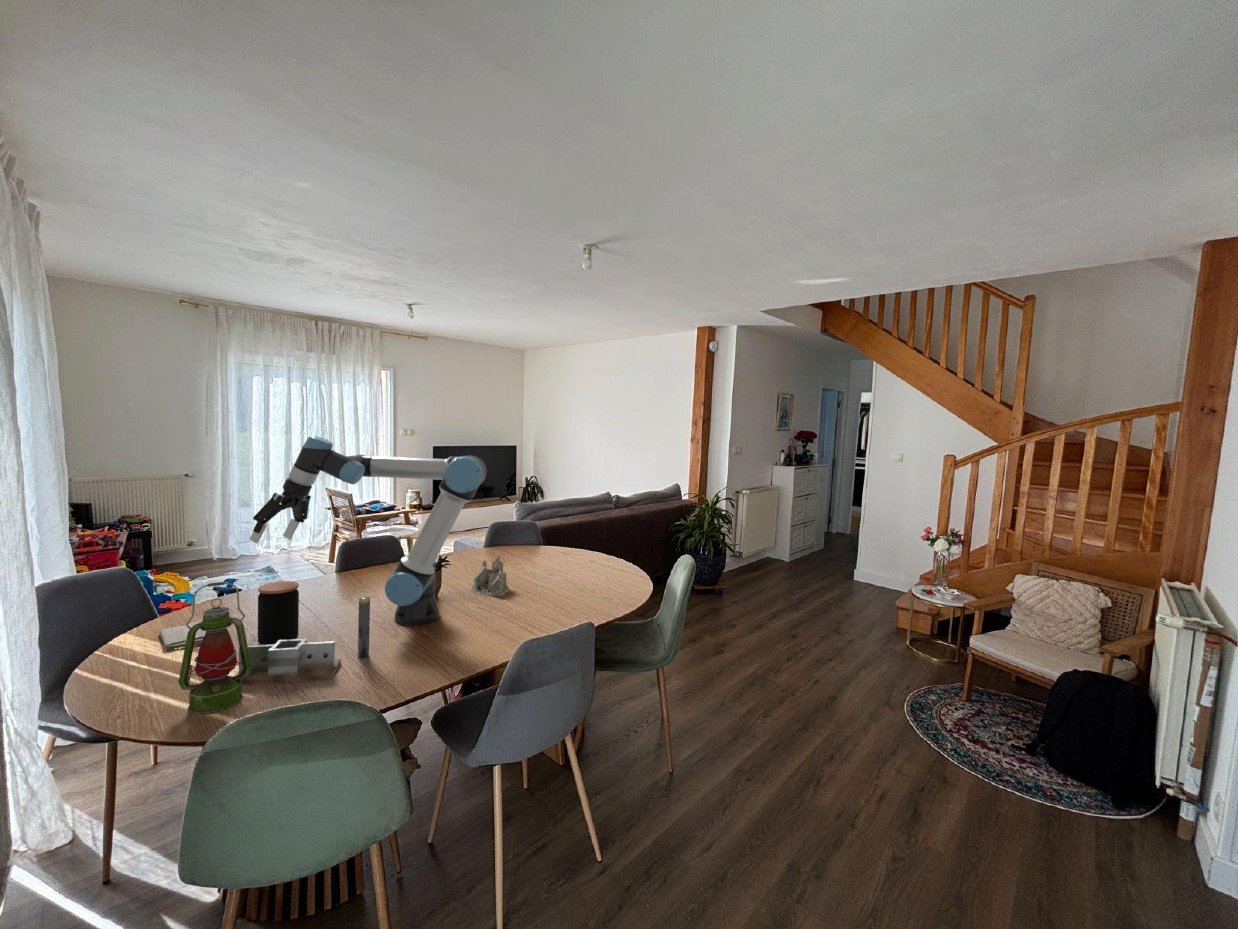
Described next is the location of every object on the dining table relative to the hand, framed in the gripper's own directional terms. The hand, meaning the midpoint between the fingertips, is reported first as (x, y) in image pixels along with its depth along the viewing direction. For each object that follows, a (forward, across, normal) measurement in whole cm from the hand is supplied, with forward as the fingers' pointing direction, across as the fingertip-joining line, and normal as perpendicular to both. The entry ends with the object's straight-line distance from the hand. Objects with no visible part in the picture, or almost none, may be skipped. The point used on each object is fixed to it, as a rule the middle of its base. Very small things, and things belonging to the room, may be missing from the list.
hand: (270, 539), depth 163 cm
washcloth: (+38, +5, -6) cm, 39 cm away
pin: (+14, +6, +48) cm, 51 cm away
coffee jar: (+26, +2, +20) cm, 33 cm away
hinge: (+19, +21, +37) cm, 46 cm away
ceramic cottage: (+2, -63, +58) cm, 86 cm away
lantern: (+24, +37, +33) cm, 55 cm away
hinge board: (+20, +20, +37) cm, 47 cm away
